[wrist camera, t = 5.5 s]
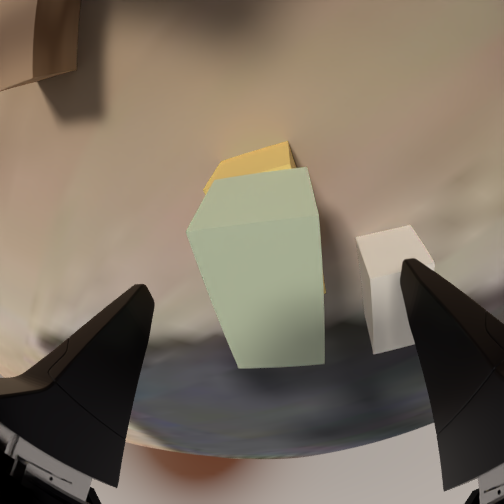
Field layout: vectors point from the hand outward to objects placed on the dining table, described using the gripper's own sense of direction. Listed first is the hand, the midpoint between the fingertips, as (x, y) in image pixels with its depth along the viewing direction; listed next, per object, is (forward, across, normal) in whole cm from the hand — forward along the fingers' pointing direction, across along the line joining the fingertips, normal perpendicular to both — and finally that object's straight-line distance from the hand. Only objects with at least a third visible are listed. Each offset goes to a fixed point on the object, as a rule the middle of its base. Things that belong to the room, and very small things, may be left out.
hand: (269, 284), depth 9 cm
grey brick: (+6, -6, +5) cm, 10 cm away
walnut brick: (+6, +9, -13) cm, 17 cm away
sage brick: (+2, 0, 0) cm, 2 cm away
